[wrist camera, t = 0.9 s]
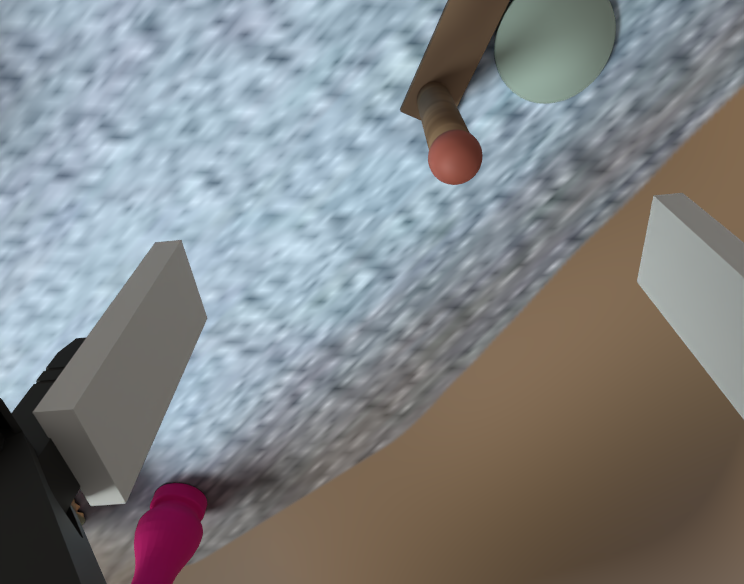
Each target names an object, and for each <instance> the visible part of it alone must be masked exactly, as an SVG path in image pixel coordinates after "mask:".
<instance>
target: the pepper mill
mask: <svg viewBox="0 0 744 584" xmlns="http://www.w3.org/2000/svg"><path fill="white" fill-rule="evenodd" d="M206 507H207V499H206V497H205V495H204V494H203V493H202V492H201V491H200V490H198V489H197V488H195V487H193V486H190V485H187V484H183V483H171V484H166V485H163V486H161V487H160V488H158V489H157V490H156V492H155V494H154V496H153V499H152V501H151V504H150V510H149V511H147V512H146V513H145V514H144V515H143V516H142V517H141V518H140V520H139V522H138V525H137V528H136V531H135V539H134V550H135V564H136V566H135V574H134V577H133V580H132V583H131V584H172V583H173V581H174V580H175V577H176V576H177V575H178V573H179V572H180V571H181V569H182V568H183V567H184V566H185V565H186V563H187V562H188V561H189V560H190V559H191V558H192V556H193V555H194V553H195V551H196V550H197V548H198V547H199V544H200V541H201V539H202V535H203V528H202V524H201V520H202V519H203V517H204V514H205V511H206Z"/></svg>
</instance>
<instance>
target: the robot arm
mask: <svg viewBox="0 0 744 584" xmlns="http://www.w3.org/2000/svg"><path fill="white" fill-rule="evenodd" d="M637 282H638V284H639V285H640V286H641V287H642V289H643V290H644V291H645V293H646V294H647V295H648V296H649V298H650V299H651V300H652V302H653V303H654V304H655V305H656V306H657V308H658V309H659V311H660V312H661V313H662V314H663V316H664V317H665V318H666V320H667V321H668V322H669V323H670V325H671V326H672V327H673V329H674V330H675V331H676V332H677V334H678V335H679V336H680V338H681V339H682V340H683V342H684V343H685V344H686V345H687V347H688V348H689V349H690V351H691V352H692V353H693V355H694V356H695V357H696V358H697V360H698V361H699V362H700V364H701V365H702V366H703V367H704V369H705V370H706V371H707V373H708V374H709V375H710V376H711V377H712V379H713V380H714V382H715V383H716V384H717V385H718V387H719V388H720V389H721V391H722V392H723V393H724V395H725V396H726V397H727V398H728V400H729V401H730V402H731V404H732V405H733V406H734V407H735V409H736V410H737V411H738V413H739V414H740V415H741V416H742V418H743V419H744V243H743V242H742V241H741V240H740V239H738V238H737V237H736V236H735V235H733V234H732V233H731V232H730V231H729V230H727V229H726V228H725V227H724V226H723V225H721V224H720V223H719V222H718V221H716V220H715V219H714V218H713V217H711V216H710V215H709V214H708V213H707V212H705V211H704V210H703V209H702V208H700V207H699V206H698V205H697V204H696V203H694V202H693V201H692V200H691V199H689V198H688V197H687V196H686V195H684V194H683V193H677V194H666V195H657V196H653V201H652V207H651V212H650V217H649V222H648V227H647V232H646V238H645V243H644V248H643V253H642V258H641V264H640V269H639V274H638V280H637ZM206 320H207V316H206V313H205V310H204V307H203V304H202V301H201V298H200V295H199V292H198V289H197V286H196V283H195V280H194V277H193V274H192V271H191V268H190V265H189V262H188V259H187V256H186V253H185V249H184V246H183V243H182V240H176V241H165V242H155V243H154V245H153V246H152V248H151V249H150V250H149V252H148V253H147V255H146V256H145V257H144V259H143V260H142V261H141V263H140V264H139V266H138V267H137V268H136V270H135V271H134V273H133V274H132V275H131V277H130V278H129V279H128V281H127V282H126V284H125V285H124V286H123V288H122V289H121V291H120V292H119V293H118V295H117V296H116V297H115V299H114V300H113V302H112V303H111V304H110V306H109V307H108V309H107V310H106V311H105V313H104V314H103V316H102V317H101V318H100V320H99V321H98V322H97V324H96V325H95V327H94V328H93V329H92V331H91V332H90V334H89V335H88V336H87V338H76V339H75V340H74V341H72V342H71V343H70V344H69V345H67V346H66V347H65V348H63V349H62V350H61V351H59V352H58V353H57V354H56V356H55V357H54V358H53V360H52V361H51V362H50V364H49V365H48V366H47V367H46V371H43V373H42V374H41V375H40V377H39V378H38V379H37V381H36V382H37V383H36V384H33V386H32V387H31V388H30V390H29V391H28V392H27V394H26V395H25V396H24V398H23V399H22V400H21V401H20V403H19V404H18V405H17V407H16V408H15V409H14V411H13V412H12V413H11V412H10V411H9V409H8V408H7V406H6V405H5V403H4V402H3V400H2V399H1V398H0V584H106V581H105V579H104V577H103V574H102V572H101V570H100V567H99V565H98V563H97V560H96V558H95V556H94V553H93V551H92V549H91V546H90V544H89V542H88V539H87V537H86V535H85V532H84V530H83V527H82V525H81V523H80V520H79V518H78V516H77V514H76V512H75V511H74V509H73V508H72V506H71V503H72V501H73V500H74V498H75V496H76V494H77V492H78V490H79V488H80V490H81V491H82V493H83V494H84V496H85V498H86V499H87V501H88V502H89V504H90V506H98V505H113V504H126V502H127V500H128V498H129V496H130V493H131V491H132V489H133V487H134V484H135V482H136V480H137V477H138V475H139V473H140V471H141V468H142V466H143V464H144V461H145V459H146V457H147V455H148V452H149V450H150V448H151V445H152V443H153V441H154V439H155V436H156V434H157V432H158V430H159V427H160V425H161V423H162V420H163V418H164V416H165V414H166V411H167V409H168V407H169V404H170V402H171V400H172V398H173V395H174V393H175V391H176V388H177V386H178V384H179V382H180V379H181V377H182V375H183V373H184V370H185V368H186V366H187V363H188V361H189V359H190V357H191V354H192V352H193V350H194V347H195V345H196V343H197V341H198V338H199V336H200V334H201V331H202V329H203V327H204V325H205V322H206Z"/></svg>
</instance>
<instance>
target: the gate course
mask: <svg viewBox="0 0 744 584" xmlns="http://www.w3.org/2000/svg"><path fill="white" fill-rule="evenodd" d="M509 1H510V0H448V1H447V4H446V6H445V8H444V10H443V13H442V15H441V17H440V19H439V22H438V24H437V26H436V29H435V31H434V33H433V35H432V38H431V40H430V42H429V44H428V47H427V49H426V51H425V54H424V56H423V58H422V60H421V63H420V65H419V67H418V69H417V72H416V74H415V76H414V79H413V81H412V83H411V85H410V88H409V90H408V92H407V94H406V97H405V99H404V101H403V104H402V106H401V108H400V111H401V112H403V113H405V114H407V115H410V116H412V117H414V118H417V119H419V120H421V121H422V125H423V129H424V132H425V136H426V140H427V144H428V148H429V154H428V162H429V167H430V169H431V171H432V173H433V174H434V176H435V177H436V178H437V179H439V180H440V181H442V182H444V183H446V184H451V185H458V184H462V183H465V182H467V181H469V180H470V179H472V178H473V177H474V176H475V175H476V173H477V172H478V170H479V169H480V166H481V163H482V149H481V146H480V144H479V142H478V141H477V139H476V138H475V137H474V136H473V135H472V134H470V133H469V131H468V129H467V127H466V125H465V123H464V120H463V118H462V116H461V114H460V112H459V110H458V108H457V106H458V104H459V102H460V100H461V98H462V96H463V94H464V92H465V90H466V88H467V86H468V84H469V82H470V80H471V78H472V76H473V74H474V72H475V70H476V68H477V66H478V64H479V62H480V60H481V58H482V55H483V53H484V51H485V49H486V47H487V45H488V43H489V41H490V39H491V37H492V35H493V33H494V31H495V29H496V27H497V25H498V23H499V21H500V19H501V17H502V15H503V13H504V11H505V9H506V7H507V5H508V3H509Z"/></svg>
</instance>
